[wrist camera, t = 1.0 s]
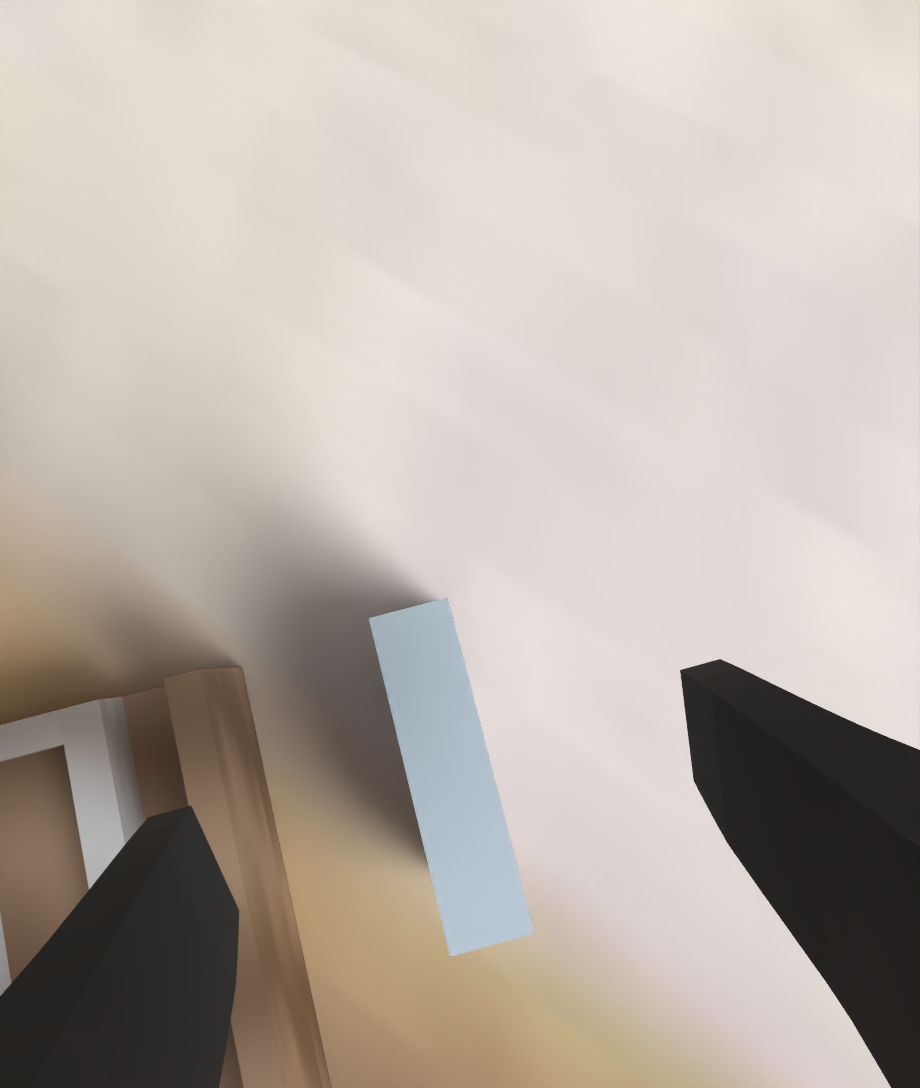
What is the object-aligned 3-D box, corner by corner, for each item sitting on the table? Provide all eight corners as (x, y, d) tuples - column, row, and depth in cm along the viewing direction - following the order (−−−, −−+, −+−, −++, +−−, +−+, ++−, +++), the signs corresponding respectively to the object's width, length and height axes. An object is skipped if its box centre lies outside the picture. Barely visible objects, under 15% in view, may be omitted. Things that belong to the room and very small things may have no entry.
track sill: (364, 1244, 21) (342, 1371, 17) (-82, 1373, 21) (-203, 1531, 17) (241, 666, 24) (199, 668, 20) (-159, 771, 23) (-279, 793, 20)
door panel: (516, 861, 23) (534, 933, 17) (453, 878, 23) (450, 956, 17) (451, 612, 24) (447, 597, 18) (392, 627, 24) (368, 618, 18)
